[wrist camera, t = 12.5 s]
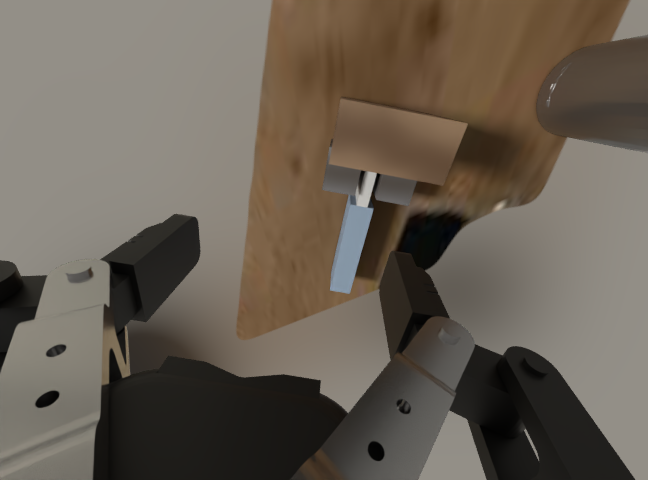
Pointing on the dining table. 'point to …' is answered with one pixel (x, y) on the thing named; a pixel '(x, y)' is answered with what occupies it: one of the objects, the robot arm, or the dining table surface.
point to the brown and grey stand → (390, 149)
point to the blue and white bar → (353, 234)
